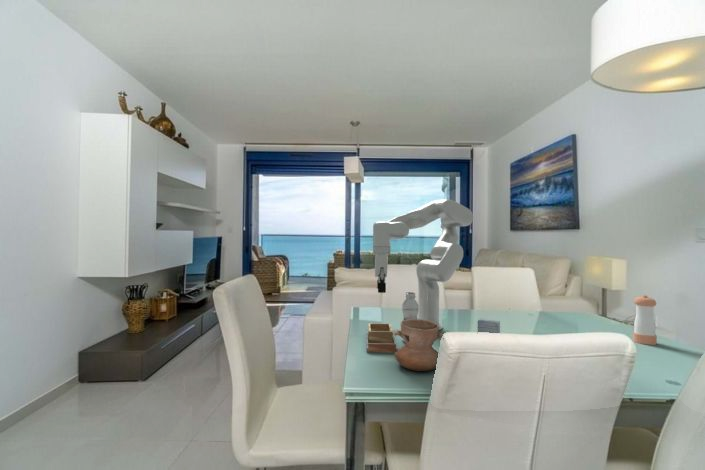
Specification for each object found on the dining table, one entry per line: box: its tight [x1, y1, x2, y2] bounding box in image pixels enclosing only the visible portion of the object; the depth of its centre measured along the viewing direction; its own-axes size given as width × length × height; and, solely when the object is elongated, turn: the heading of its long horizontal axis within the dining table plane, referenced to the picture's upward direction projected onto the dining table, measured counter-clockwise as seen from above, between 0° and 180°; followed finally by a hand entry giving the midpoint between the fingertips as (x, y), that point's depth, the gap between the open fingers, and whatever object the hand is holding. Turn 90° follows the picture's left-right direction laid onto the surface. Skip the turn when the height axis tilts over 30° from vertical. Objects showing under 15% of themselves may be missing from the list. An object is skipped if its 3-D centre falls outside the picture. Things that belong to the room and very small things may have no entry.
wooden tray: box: [365, 329, 399, 354], centre depth 134 cm, size 24×11×4 cm, turn 178°
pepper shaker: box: [632, 294, 658, 346], centre depth 139 cm, size 7×7×19 cm
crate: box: [367, 322, 394, 344], centre depth 138 cm, size 13×9×4 cm
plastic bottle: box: [401, 291, 419, 343], centre depth 135 cm, size 6×7×20 cm
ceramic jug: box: [392, 318, 444, 372], centre depth 111 cm, size 18×14×14 cm
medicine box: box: [477, 318, 501, 334], centre depth 138 cm, size 8×4×9 cm, turn 58°
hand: (381, 290), depth 146 cm, fingers open, 9 cm apart
